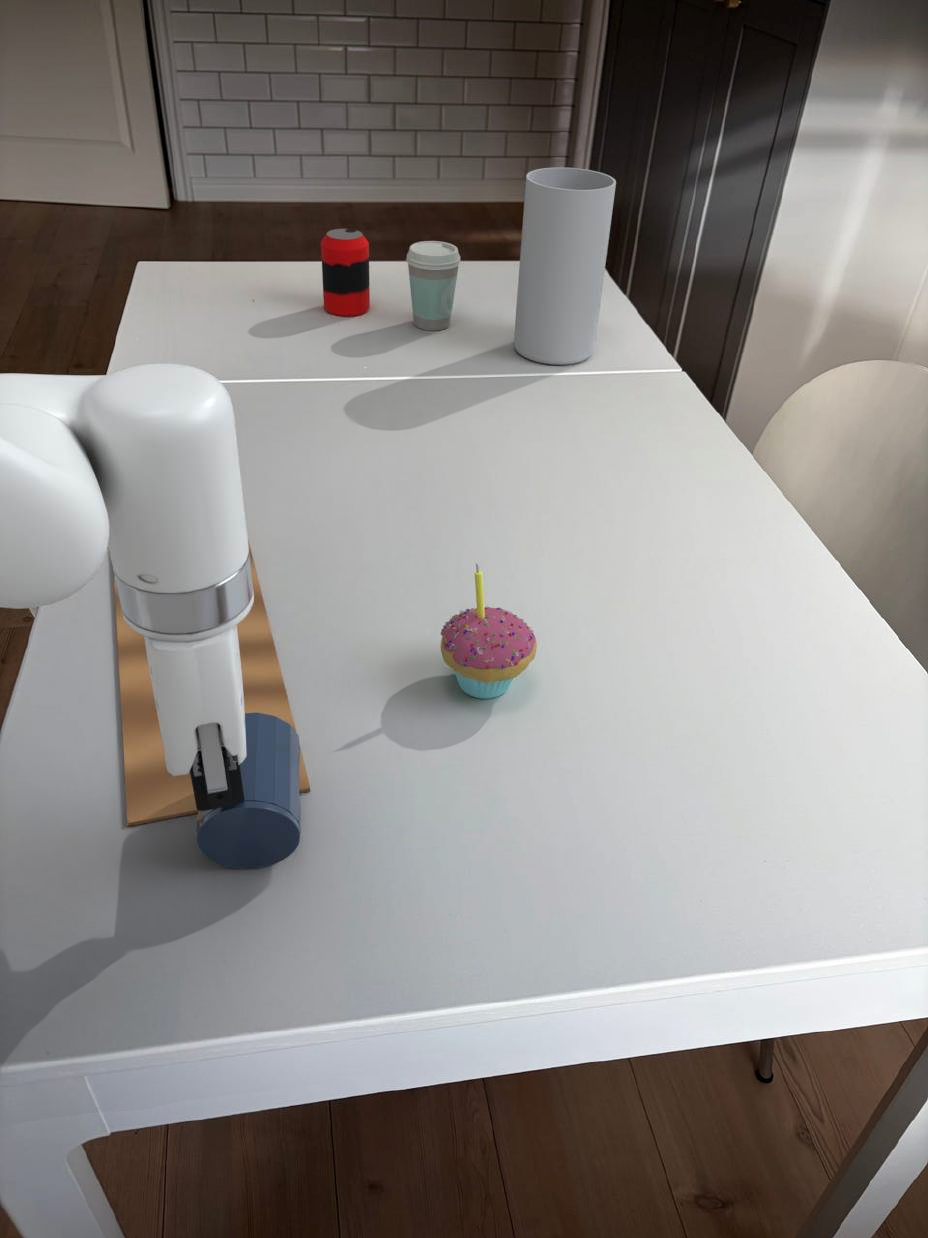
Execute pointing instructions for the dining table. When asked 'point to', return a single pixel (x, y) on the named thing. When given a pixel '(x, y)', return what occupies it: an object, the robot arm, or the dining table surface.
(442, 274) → the coffee cup
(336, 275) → the soda can
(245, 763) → the cup
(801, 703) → the dining table surface
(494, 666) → the cupcake
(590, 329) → the cylinder vase
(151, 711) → the placemat
